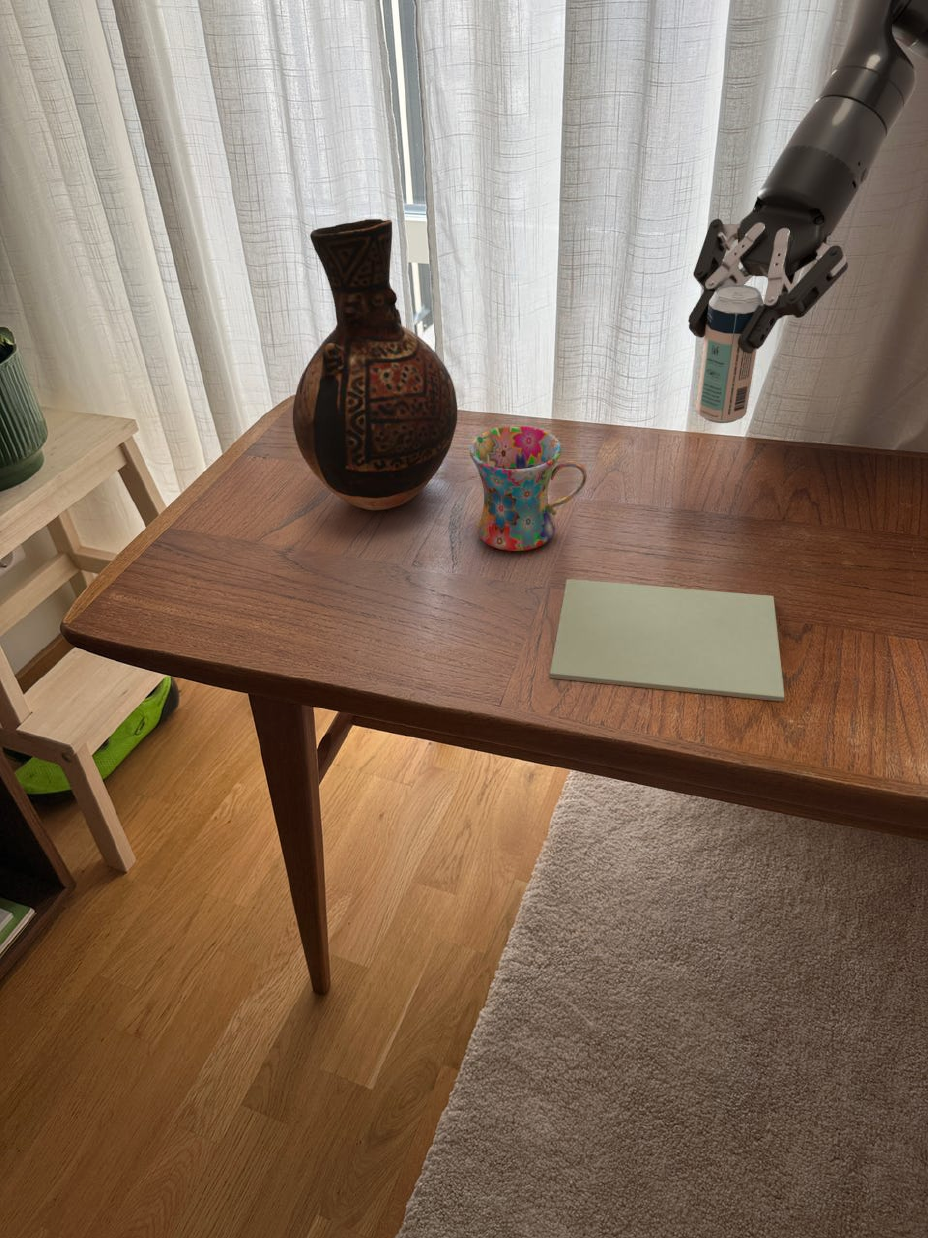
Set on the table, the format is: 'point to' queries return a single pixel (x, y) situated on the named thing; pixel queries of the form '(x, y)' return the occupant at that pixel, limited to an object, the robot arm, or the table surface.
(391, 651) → the table surface
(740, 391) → the beer can
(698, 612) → the mat
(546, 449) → the mug
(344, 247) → the ceramic vessel
